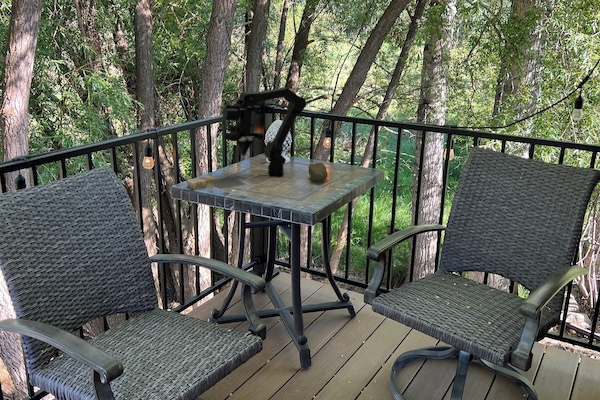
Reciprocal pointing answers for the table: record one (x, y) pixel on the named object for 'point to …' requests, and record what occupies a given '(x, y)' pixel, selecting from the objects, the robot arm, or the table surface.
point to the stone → (318, 171)
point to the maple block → (202, 183)
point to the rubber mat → (228, 183)
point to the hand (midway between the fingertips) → (243, 155)
